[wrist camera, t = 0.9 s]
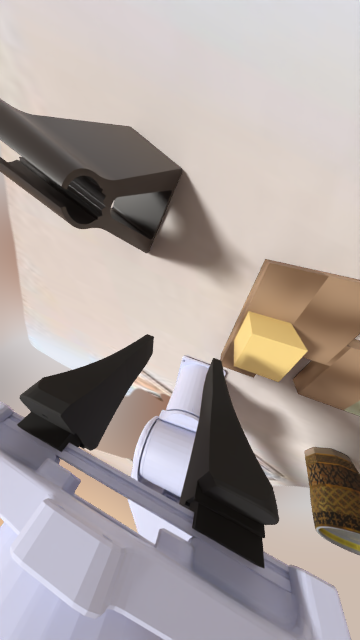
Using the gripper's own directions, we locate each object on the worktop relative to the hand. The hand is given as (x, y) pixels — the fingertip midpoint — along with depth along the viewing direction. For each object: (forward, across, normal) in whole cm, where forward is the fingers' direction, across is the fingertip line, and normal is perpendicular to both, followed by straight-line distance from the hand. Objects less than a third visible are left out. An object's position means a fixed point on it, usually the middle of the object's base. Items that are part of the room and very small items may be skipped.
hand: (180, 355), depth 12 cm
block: (+8, -8, 0) cm, 11 cm away
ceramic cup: (+10, -32, +23) cm, 41 cm away
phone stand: (+11, +10, -10) cm, 18 cm away
